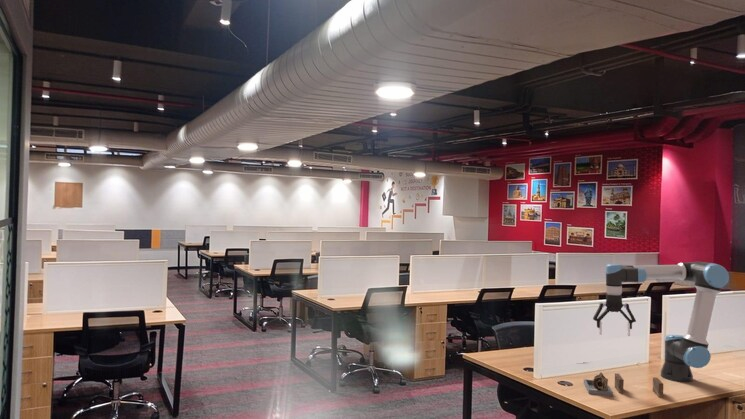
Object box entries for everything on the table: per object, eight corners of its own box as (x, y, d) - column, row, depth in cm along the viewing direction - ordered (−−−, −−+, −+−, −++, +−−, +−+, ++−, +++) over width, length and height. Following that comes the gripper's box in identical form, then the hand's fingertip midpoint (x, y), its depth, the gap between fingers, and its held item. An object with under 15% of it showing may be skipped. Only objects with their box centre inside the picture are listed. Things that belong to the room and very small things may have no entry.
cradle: (657, 391, 254) (657, 377, 254) (663, 398, 245) (663, 384, 245) (614, 387, 259) (614, 373, 259) (618, 393, 249) (619, 379, 249)
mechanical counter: (591, 396, 249) (595, 380, 245) (587, 378, 260) (590, 362, 256) (607, 398, 247) (611, 382, 243) (602, 380, 259) (605, 364, 255)
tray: (605, 386, 261) (605, 381, 261) (612, 397, 244) (612, 392, 244) (583, 383, 263) (583, 379, 263) (588, 394, 247) (588, 389, 247)
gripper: (637, 293, 268) (638, 334, 268) (587, 292, 274) (587, 331, 274) (642, 295, 261) (642, 337, 261) (589, 294, 266) (590, 335, 266)
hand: (614, 334), depth 267 cm, fingers open, 13 cm apart
